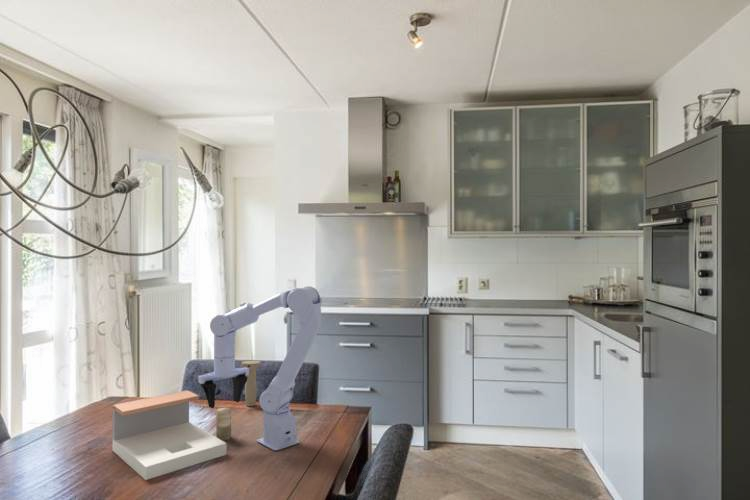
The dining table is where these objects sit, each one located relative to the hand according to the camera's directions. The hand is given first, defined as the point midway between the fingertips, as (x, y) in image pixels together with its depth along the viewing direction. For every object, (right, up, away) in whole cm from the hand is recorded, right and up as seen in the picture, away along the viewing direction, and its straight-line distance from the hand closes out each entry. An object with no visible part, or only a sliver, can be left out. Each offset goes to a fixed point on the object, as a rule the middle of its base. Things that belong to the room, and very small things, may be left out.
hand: (224, 404), depth 135 cm
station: (-11, -9, -11) cm, 18 cm away
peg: (0, -9, -1) cm, 9 cm away
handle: (0, -10, +29) cm, 31 cm away
